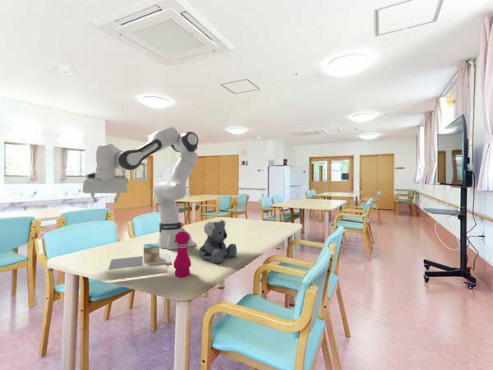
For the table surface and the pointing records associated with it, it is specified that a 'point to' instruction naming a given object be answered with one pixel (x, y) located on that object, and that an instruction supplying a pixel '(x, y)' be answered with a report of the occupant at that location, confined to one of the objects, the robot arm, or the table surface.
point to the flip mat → (137, 262)
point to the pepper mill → (182, 254)
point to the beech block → (151, 252)
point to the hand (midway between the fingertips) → (105, 201)
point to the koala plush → (216, 243)
